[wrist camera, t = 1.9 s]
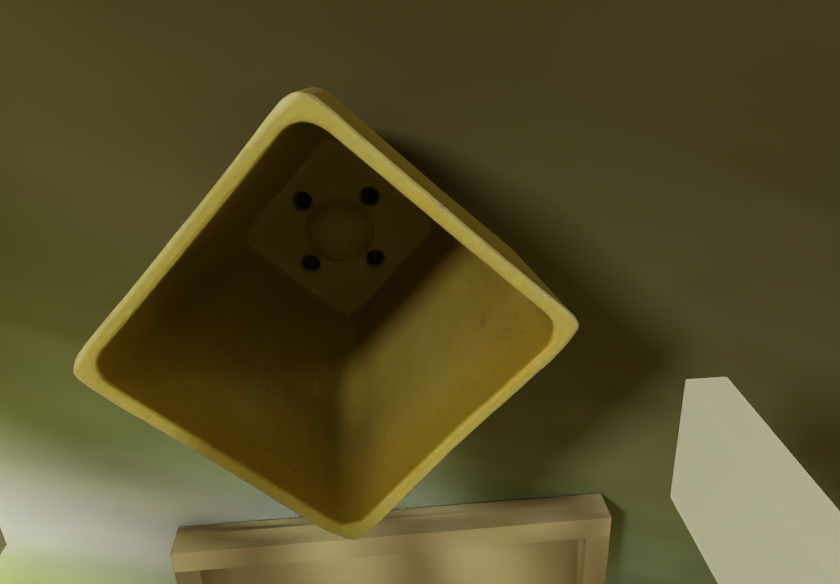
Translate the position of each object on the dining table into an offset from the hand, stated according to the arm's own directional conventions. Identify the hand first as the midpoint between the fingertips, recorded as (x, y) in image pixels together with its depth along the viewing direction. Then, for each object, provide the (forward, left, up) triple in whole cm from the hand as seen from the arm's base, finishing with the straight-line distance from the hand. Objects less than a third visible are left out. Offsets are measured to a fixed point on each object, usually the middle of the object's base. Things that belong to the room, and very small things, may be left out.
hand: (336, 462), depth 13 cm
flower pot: (0, 0, -13) cm, 13 cm away
